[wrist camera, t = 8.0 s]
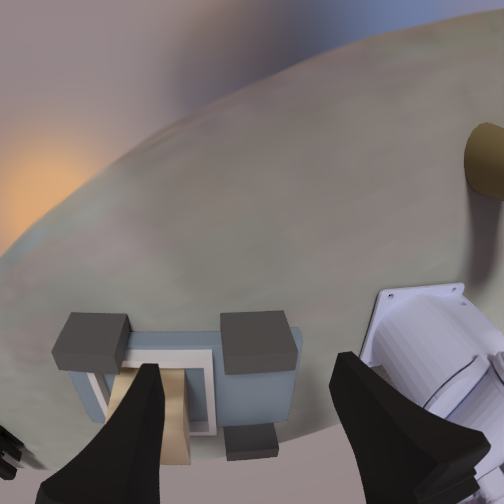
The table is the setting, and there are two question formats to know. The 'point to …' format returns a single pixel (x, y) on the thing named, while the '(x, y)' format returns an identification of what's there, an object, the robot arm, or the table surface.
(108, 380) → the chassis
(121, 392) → the block
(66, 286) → the table surface
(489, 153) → the cork
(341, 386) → the robot arm
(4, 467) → the end cap
